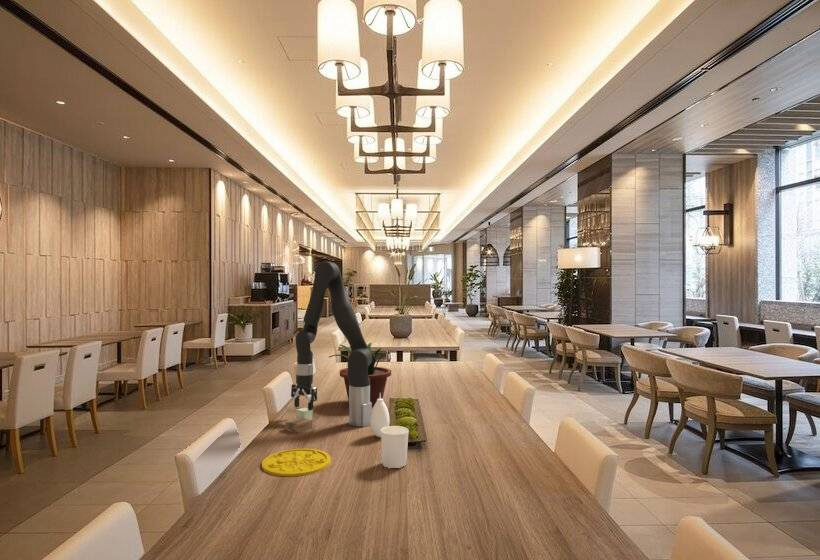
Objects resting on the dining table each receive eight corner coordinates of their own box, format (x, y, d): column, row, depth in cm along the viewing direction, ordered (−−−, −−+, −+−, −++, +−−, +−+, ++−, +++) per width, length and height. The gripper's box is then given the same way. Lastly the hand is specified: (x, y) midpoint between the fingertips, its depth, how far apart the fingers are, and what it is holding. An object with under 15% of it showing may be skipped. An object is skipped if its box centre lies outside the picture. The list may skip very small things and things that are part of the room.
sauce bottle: (386, 440, 193) (387, 395, 193) (367, 438, 195) (368, 394, 195) (391, 434, 201) (391, 391, 201) (373, 433, 203) (373, 390, 203)
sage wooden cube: (312, 420, 221) (312, 409, 221) (304, 422, 217) (304, 411, 217) (304, 418, 224) (304, 407, 224) (296, 420, 219) (296, 409, 219)
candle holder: (374, 466, 166) (375, 431, 166) (389, 457, 175) (389, 424, 175) (399, 472, 162) (400, 436, 162) (413, 462, 170) (413, 428, 170)
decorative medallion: (260, 480, 155) (260, 474, 155) (262, 455, 177) (262, 449, 177) (334, 473, 161) (334, 467, 161) (327, 449, 184) (327, 444, 184)
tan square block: (312, 429, 208) (312, 420, 208) (298, 434, 201) (298, 424, 201) (299, 426, 212) (299, 417, 212) (285, 430, 205) (285, 421, 205)
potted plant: (388, 414, 231) (389, 351, 231) (321, 413, 232) (322, 350, 232) (392, 396, 266) (393, 342, 266) (334, 395, 266) (334, 341, 266)
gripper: (321, 374, 220) (320, 409, 220) (299, 369, 227) (298, 404, 227) (309, 376, 213) (308, 413, 213) (287, 372, 221) (286, 407, 221)
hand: (303, 408), depth 220 cm, fingers open, 8 cm apart
